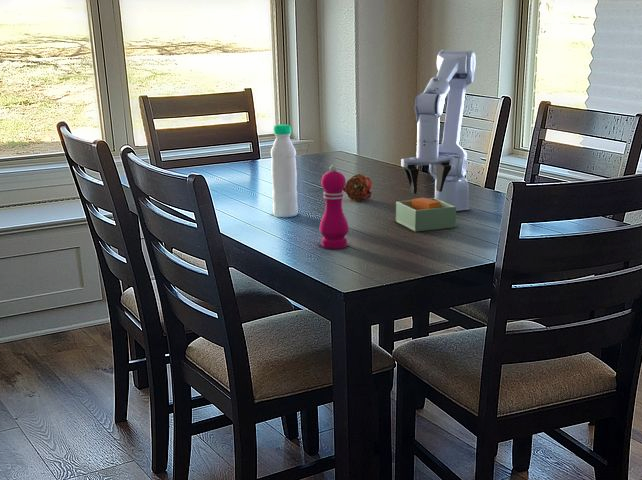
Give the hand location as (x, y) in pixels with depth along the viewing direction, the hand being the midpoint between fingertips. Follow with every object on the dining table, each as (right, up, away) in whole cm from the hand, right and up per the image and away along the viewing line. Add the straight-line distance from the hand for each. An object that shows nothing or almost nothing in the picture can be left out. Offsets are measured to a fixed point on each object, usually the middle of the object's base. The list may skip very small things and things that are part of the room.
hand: (426, 192), depth 230 cm
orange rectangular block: (0, -8, +3) cm, 8 cm away
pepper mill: (-24, -17, -17) cm, 34 cm away
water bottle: (-39, -4, +13) cm, 42 cm away
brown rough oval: (-19, +4, +32) cm, 37 cm away
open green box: (0, -8, +3) cm, 9 cm away
